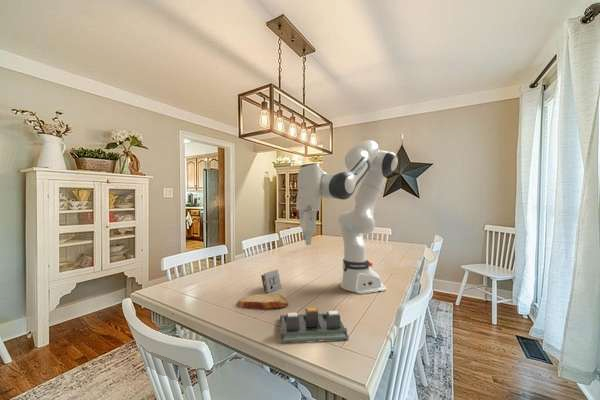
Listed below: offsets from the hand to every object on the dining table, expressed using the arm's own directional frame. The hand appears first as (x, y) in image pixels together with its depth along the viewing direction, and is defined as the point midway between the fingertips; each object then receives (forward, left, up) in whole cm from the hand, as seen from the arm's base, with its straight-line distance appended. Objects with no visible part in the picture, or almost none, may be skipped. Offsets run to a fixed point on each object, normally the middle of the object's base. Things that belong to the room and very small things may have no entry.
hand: (306, 242), depth 91 cm
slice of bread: (+17, -14, -30) cm, 37 cm away
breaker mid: (-1, +7, -28) cm, 29 cm away
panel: (-1, +7, -29) cm, 30 cm away
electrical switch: (+14, -30, -30) cm, 44 cm away
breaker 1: (+6, +10, -28) cm, 30 cm away
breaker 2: (-8, +10, -28) cm, 31 cm away
